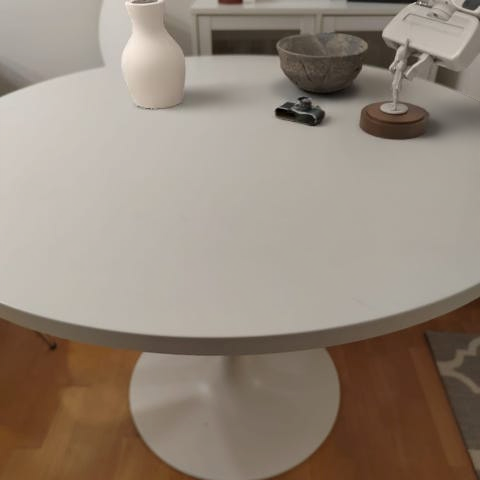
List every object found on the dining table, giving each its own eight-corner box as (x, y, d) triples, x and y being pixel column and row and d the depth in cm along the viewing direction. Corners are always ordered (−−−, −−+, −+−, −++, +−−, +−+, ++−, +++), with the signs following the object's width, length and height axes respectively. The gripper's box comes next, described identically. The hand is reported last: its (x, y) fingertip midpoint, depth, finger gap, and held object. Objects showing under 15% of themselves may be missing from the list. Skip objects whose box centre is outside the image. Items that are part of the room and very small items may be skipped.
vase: (200, 94, 109) (192, -4, 96) (167, 114, 100) (152, 9, 86) (151, 86, 114) (137, -8, 101) (115, 105, 105) (94, 4, 92)
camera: (286, 109, 100) (287, 89, 97) (327, 119, 95) (330, 98, 92) (273, 116, 97) (273, 96, 94) (315, 127, 92) (317, 106, 89)
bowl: (322, 111, 98) (326, 61, 92) (257, 89, 110) (257, 44, 104) (380, 88, 108) (387, 41, 102) (315, 70, 120) (318, 27, 114)
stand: (414, 112, 96) (417, 98, 94) (436, 137, 86) (440, 122, 85) (353, 115, 96) (354, 100, 94) (368, 140, 86) (370, 125, 84)
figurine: (383, 102, 92) (394, 37, 84) (410, 105, 91) (424, 39, 83) (377, 111, 89) (388, 44, 81) (404, 115, 87) (418, 46, 79)
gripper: (407, -14, 86) (357, 50, 90) (494, 5, 72) (431, 79, 76) (420, 10, 91) (372, 70, 94) (505, 32, 77) (444, 102, 80)
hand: (399, 75), depth 85 cm, fingers closed on figurine, 2 cm apart
